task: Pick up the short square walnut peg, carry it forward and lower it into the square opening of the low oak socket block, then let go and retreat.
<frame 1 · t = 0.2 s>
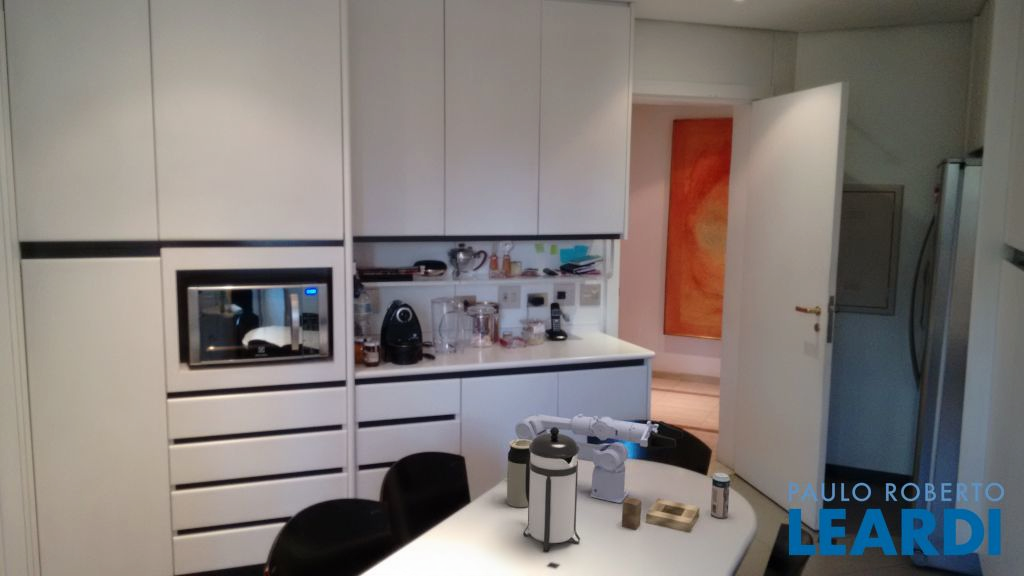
hand: (679, 439, 194), 21 cm above the table, tool horizontal, fingers open, 7 cm apart
walnut peg: (631, 525, 186), on the table
coffee press: (547, 538, 178), on the table
oak socket block: (672, 518, 191), on the table
beer can: (719, 516, 194), on the table
travel mug: (520, 503, 199), on the table
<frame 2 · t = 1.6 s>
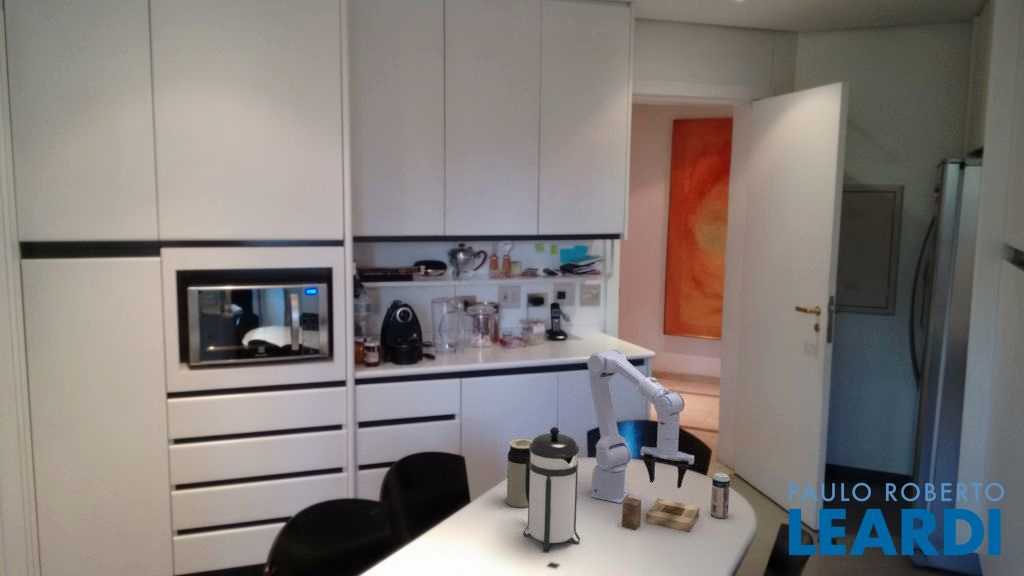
hand: (665, 484, 189), 10 cm above the table, tool pointing down, fingers open, 7 cm apart
nothing on the table moved.
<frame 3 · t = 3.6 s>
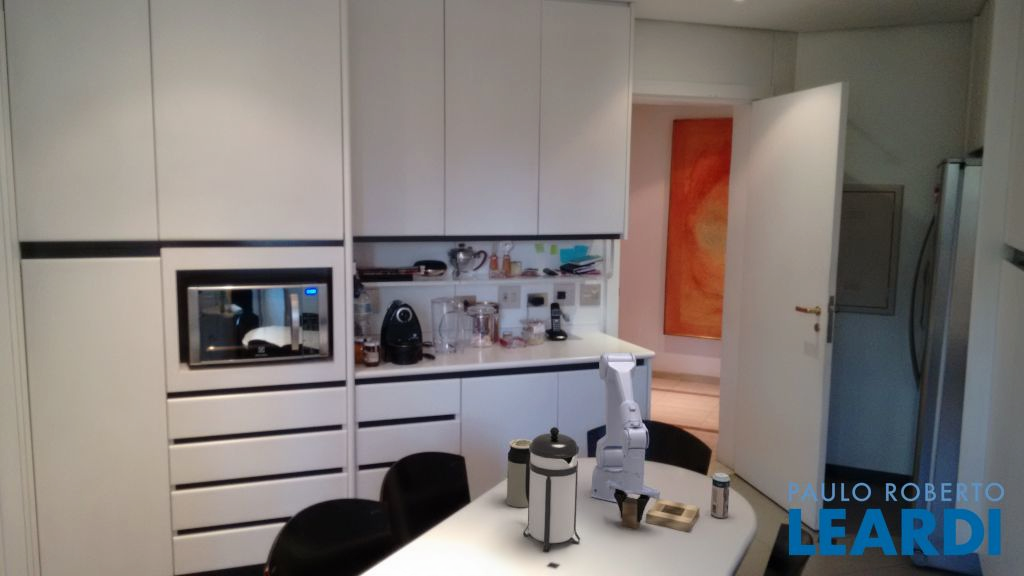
hand: (631, 518, 186), 2 cm above the table, tool pointing down, fingers closed on walnut peg, 4 cm apart
walnut peg: (631, 525, 186), on the table, touching gripper
everything else where it was.
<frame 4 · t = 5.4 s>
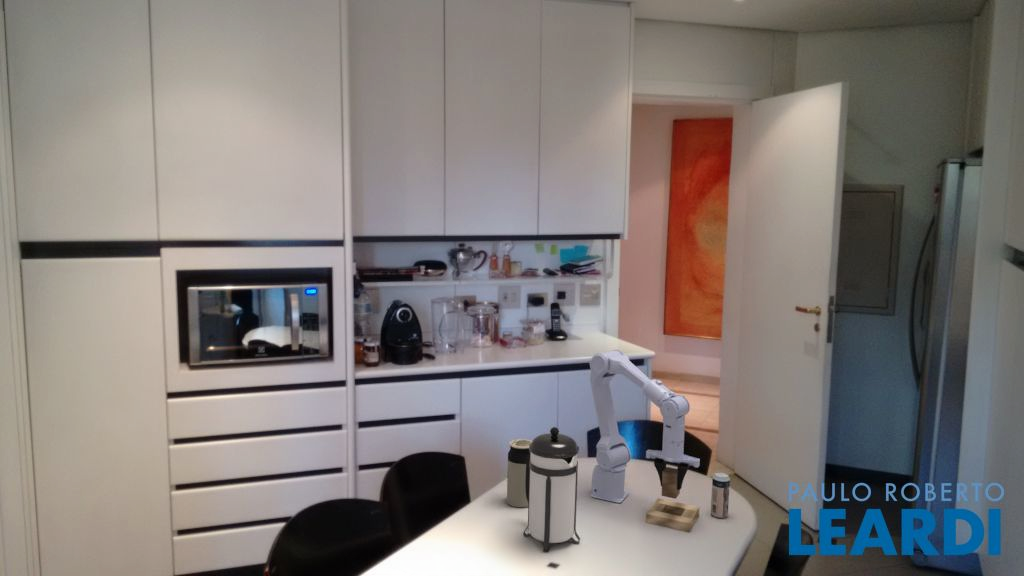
hand: (671, 487, 189), 9 cm above the table, tool pointing down, fingers closed on walnut peg, 4 cm apart
walnut peg: (670, 494, 189), point 7 cm above the table, touching gripper
everything else where it was.
when the fingers open (4 cm above the table, at t = 7.0 s): walnut peg drops 2 cm, resting on oak socket block.
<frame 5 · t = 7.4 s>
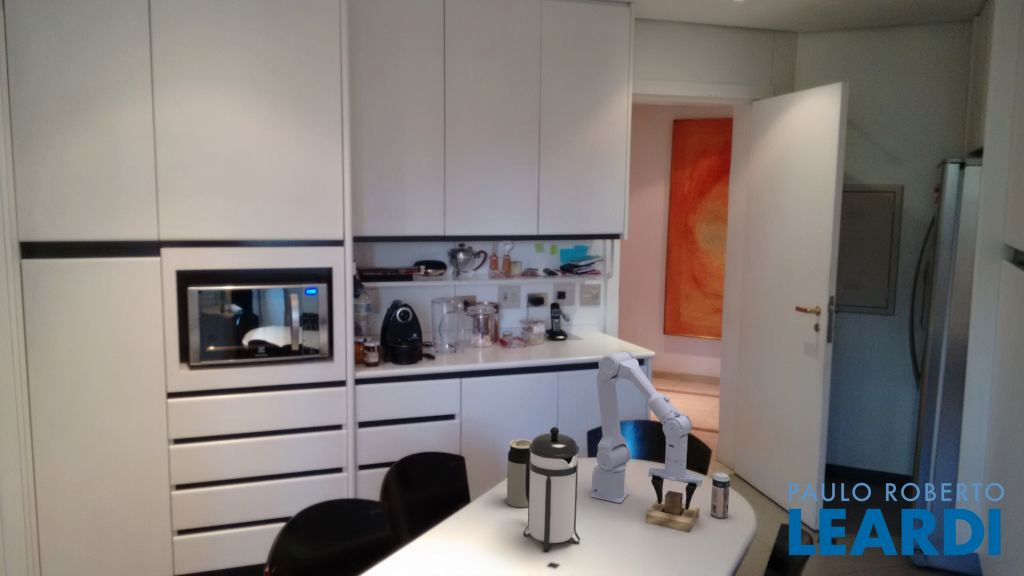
hand: (673, 505, 190), 4 cm above the table, tool pointing down, fingers open, 7 cm apart
walnut peg: (672, 518, 190), resting on oak socket block
everything else where it was.
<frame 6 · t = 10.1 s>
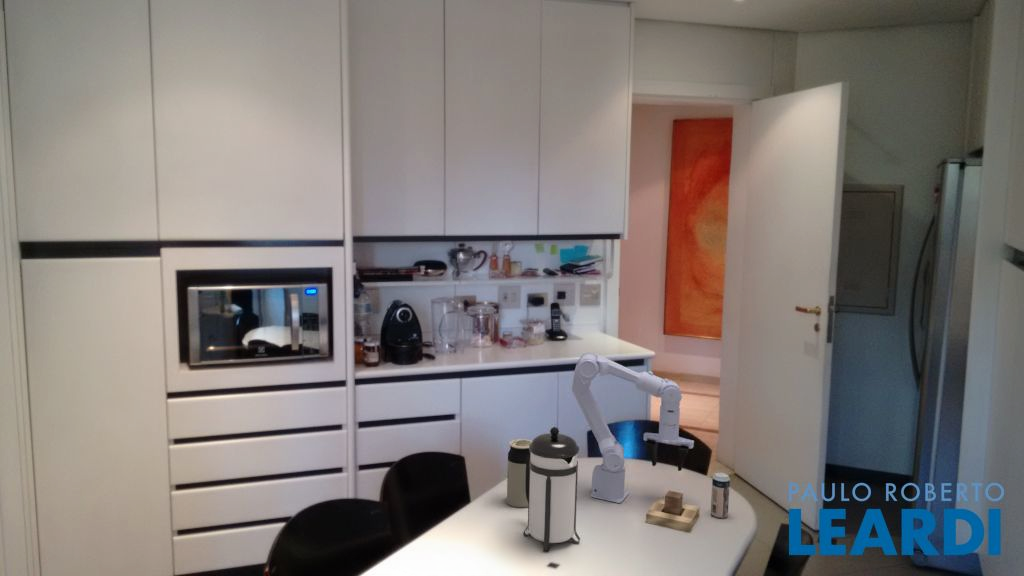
hand: (667, 467, 202), 10 cm above the table, tool pointing down, fingers open, 7 cm apart
nothing on the table moved.
at the end: walnut peg 0.2 cm off-centre on the oak socket block, point 0.2 cm above the oak socket block's base; walnut peg tilted 0°; the gripper is holding nothing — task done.
